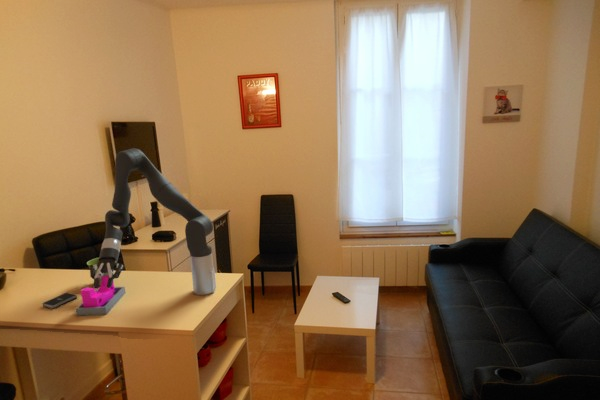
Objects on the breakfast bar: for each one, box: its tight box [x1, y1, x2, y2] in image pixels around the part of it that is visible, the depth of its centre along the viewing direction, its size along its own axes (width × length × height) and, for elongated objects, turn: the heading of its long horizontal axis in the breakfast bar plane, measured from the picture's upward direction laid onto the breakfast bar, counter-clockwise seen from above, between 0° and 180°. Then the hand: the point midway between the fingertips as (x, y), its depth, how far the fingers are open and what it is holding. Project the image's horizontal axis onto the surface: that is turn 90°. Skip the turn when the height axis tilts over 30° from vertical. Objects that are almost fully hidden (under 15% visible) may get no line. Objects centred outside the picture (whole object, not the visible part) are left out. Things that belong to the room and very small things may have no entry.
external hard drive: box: [42, 292, 77, 310], centre depth 167 cm, size 7×11×2 cm, turn 156°
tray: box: [75, 286, 126, 317], centre depth 164 cm, size 12×20×3 cm, turn 3°
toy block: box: [80, 275, 115, 308], centre depth 163 cm, size 15×6×8 cm, turn 171°
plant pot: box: [86, 257, 109, 286], centre depth 185 cm, size 12×12×11 cm
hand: (102, 287), depth 165 cm, fingers closed on toy block, 4 cm apart
